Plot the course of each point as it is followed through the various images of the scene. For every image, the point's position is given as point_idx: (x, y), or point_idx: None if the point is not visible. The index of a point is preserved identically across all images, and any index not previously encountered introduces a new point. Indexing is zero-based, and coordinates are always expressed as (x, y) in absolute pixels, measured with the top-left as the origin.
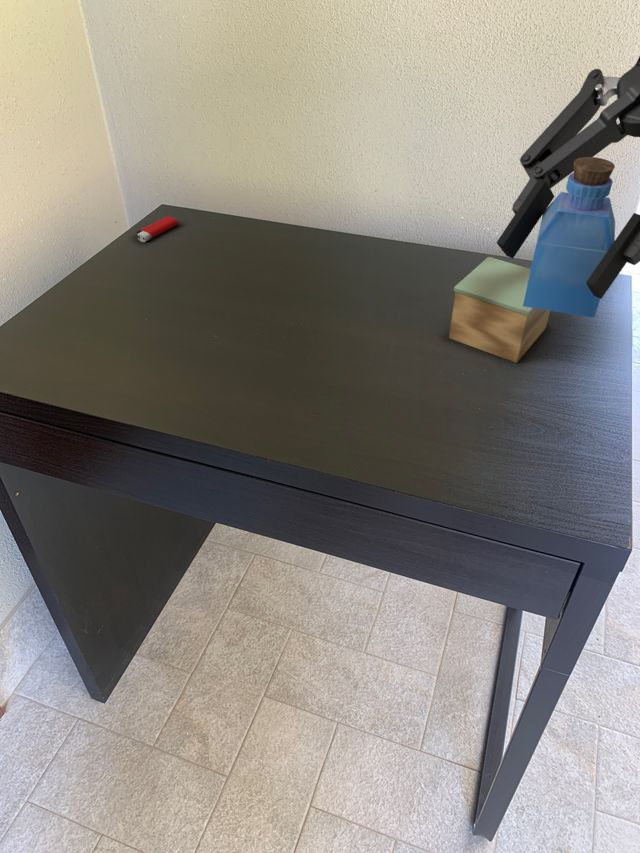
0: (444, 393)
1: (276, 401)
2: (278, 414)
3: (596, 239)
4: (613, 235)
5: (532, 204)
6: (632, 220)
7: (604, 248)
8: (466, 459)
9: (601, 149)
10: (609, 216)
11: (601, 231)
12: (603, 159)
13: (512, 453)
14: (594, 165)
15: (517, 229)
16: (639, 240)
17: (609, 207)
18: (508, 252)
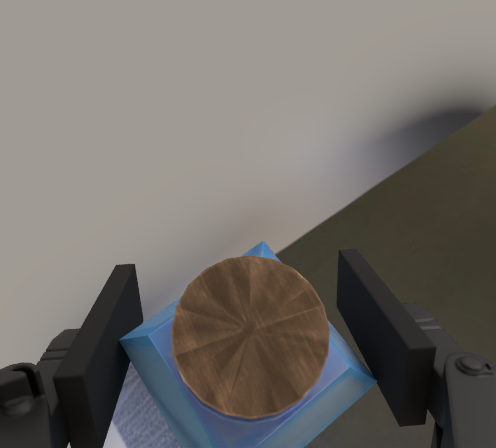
0: (380, 400)
1: (451, 229)
2: (430, 220)
3: (160, 315)
4: (155, 393)
5: (377, 313)
6: (79, 359)
7: (140, 326)
8: None
9: None
10: (160, 363)
11: (154, 322)
12: (262, 408)
13: None
14: (242, 320)
15: (353, 283)
16: (57, 361)
17: (191, 410)
18: (338, 281)
